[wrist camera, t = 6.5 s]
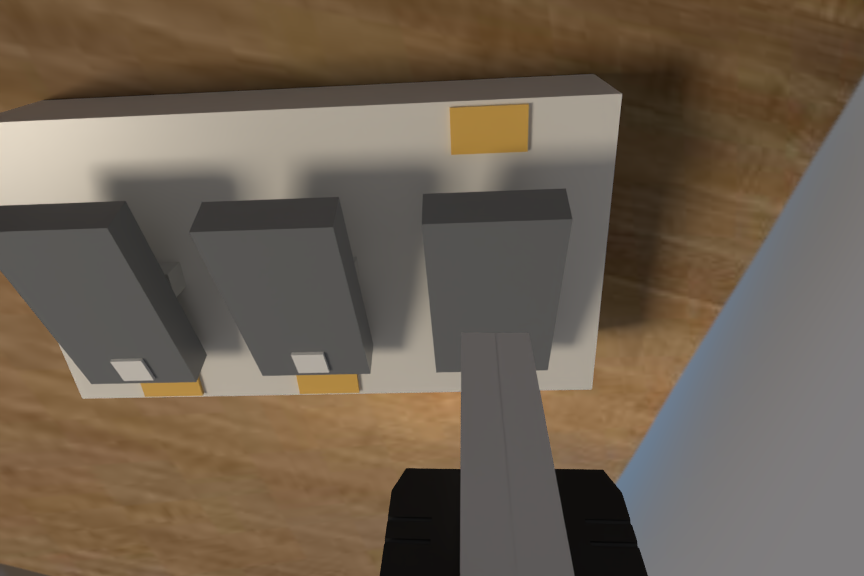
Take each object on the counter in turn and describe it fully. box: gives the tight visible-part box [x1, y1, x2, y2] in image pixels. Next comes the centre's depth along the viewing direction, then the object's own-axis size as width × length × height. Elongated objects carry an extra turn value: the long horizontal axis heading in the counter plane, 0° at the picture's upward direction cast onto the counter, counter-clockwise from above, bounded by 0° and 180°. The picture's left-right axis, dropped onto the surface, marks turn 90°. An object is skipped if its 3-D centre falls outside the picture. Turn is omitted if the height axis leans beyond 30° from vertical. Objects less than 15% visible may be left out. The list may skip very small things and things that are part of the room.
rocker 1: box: [0, 201, 207, 384], centre depth 24 cm, size 9×5×2 cm, turn 3°
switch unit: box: [0, 74, 622, 399], centre depth 27 cm, size 14×26×6 cm, turn 93°
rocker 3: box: [422, 188, 573, 373], centre depth 23 cm, size 9×5×2 cm, turn 3°
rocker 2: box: [189, 197, 373, 376], centre depth 23 cm, size 9×5×2 cm, turn 3°
